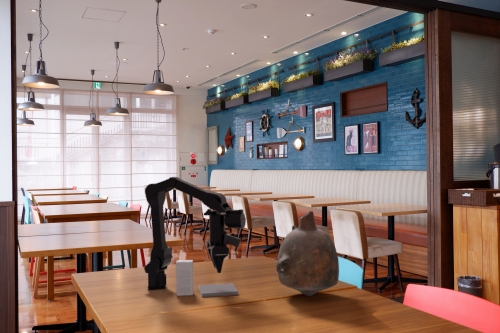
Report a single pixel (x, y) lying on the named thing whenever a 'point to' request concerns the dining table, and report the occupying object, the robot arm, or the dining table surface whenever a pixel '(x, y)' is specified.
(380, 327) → the dining table surface
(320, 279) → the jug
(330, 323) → the dining table surface
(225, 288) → the slate tile
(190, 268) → the skincare box
